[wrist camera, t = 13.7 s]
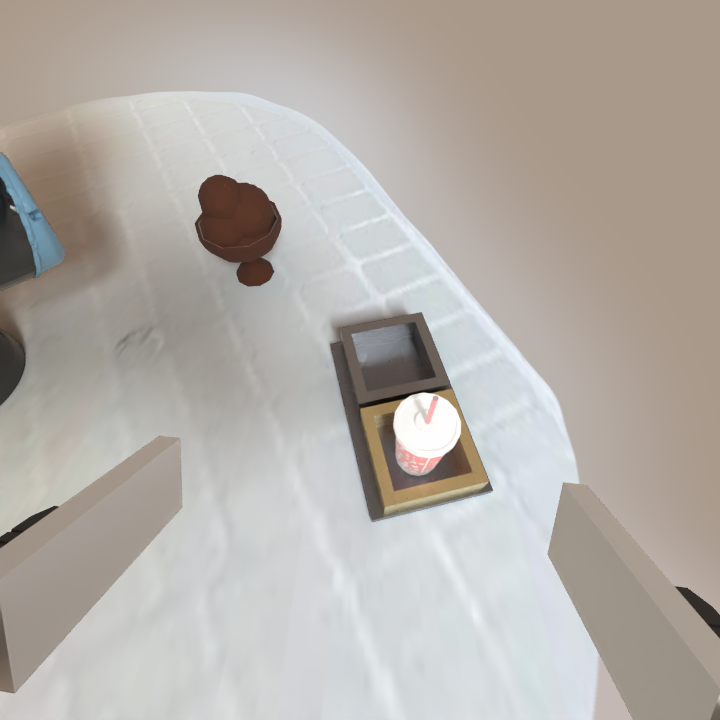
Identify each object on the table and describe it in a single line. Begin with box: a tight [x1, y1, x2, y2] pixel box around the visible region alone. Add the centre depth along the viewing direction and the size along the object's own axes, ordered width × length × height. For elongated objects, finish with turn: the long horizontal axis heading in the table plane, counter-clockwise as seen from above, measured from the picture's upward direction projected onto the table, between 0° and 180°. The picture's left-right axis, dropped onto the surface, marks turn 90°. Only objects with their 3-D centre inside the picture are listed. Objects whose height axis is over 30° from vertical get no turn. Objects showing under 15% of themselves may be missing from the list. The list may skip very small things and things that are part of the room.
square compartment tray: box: [331, 312, 493, 522], centre depth 46 cm, size 22×13×4 cm, turn 13°
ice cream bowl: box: [195, 175, 281, 286], centre depth 53 cm, size 11×11×15 cm
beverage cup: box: [393, 393, 461, 476], centre depth 38 cm, size 6×6×14 cm
